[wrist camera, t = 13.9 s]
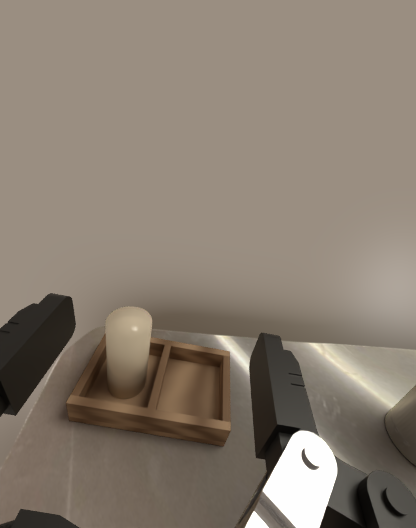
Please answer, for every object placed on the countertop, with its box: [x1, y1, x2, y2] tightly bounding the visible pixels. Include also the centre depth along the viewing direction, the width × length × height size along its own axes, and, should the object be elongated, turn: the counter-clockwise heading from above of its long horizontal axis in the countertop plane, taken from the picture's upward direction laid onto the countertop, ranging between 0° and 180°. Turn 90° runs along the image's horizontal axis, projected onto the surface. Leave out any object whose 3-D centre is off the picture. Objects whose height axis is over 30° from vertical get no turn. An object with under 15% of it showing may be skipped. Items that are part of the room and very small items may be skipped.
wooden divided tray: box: [66, 333, 231, 446], centre depth 36 cm, size 20×12×4 cm, turn 87°
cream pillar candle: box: [105, 306, 152, 399], centre depth 33 cm, size 5×5×12 cm
